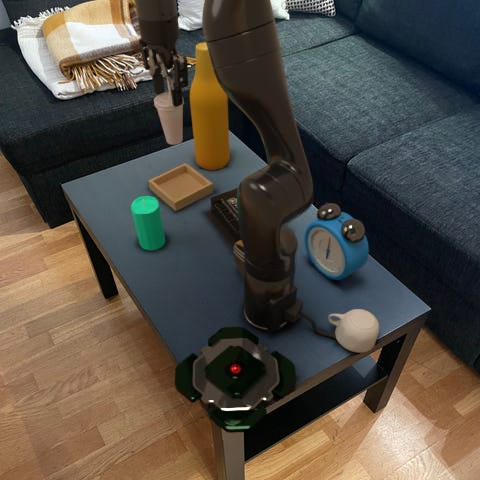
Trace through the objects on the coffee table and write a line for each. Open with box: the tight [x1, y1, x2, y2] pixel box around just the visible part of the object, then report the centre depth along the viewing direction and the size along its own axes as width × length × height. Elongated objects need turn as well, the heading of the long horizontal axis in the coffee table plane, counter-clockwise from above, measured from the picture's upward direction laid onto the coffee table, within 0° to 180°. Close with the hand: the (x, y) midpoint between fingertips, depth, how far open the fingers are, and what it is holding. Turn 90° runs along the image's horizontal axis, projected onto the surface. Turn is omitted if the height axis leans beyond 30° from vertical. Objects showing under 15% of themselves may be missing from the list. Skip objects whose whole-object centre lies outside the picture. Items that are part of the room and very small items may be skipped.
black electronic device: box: [204, 187, 241, 250], centre depth 105 cm, size 20×14×17 cm
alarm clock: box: [304, 202, 370, 283], centre depth 97 cm, size 13×6×15 cm, turn 37°
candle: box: [130, 195, 166, 251], centre depth 104 cm, size 6×6×12 cm
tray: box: [147, 162, 214, 212], centre depth 119 cm, size 12×12×3 cm
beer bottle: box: [189, 41, 231, 171], centre depth 117 cm, size 9×9×29 cm
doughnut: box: [232, 240, 244, 278], centre depth 98 cm, size 9×4×10 cm, turn 32°
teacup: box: [327, 308, 380, 354], centre depth 89 cm, size 10×8×5 cm
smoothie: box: [153, 78, 185, 146], centre depth 104 cm, size 6×6×14 cm
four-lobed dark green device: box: [174, 326, 297, 434], centre depth 84 cm, size 18×18×5 cm
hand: (168, 98), depth 102 cm, fingers closed on smoothie, 6 cm apart
